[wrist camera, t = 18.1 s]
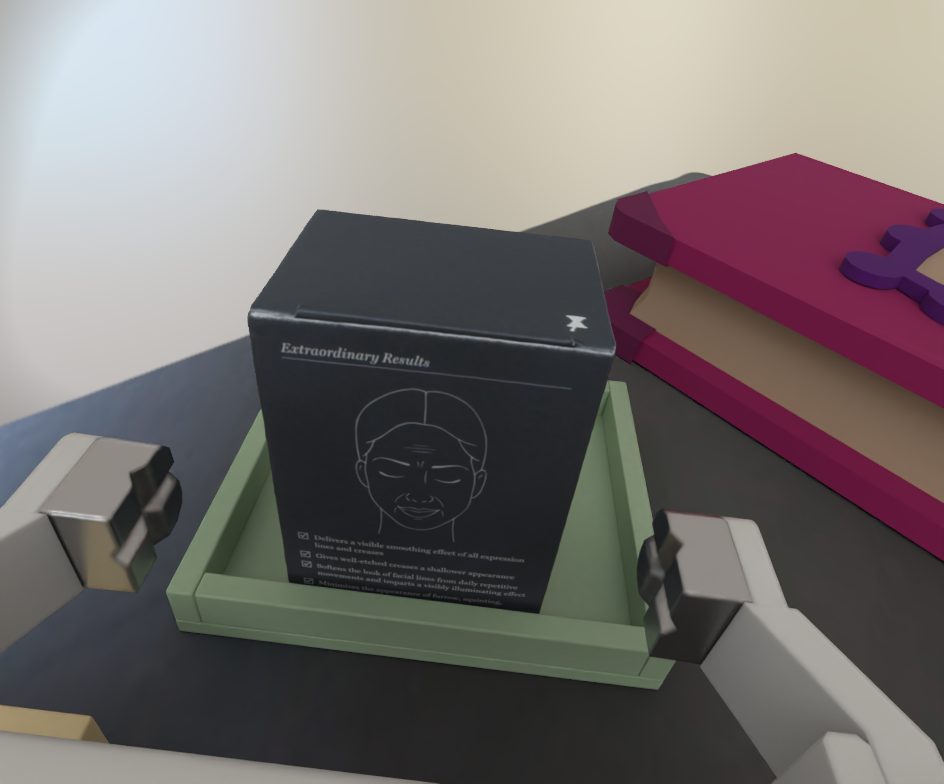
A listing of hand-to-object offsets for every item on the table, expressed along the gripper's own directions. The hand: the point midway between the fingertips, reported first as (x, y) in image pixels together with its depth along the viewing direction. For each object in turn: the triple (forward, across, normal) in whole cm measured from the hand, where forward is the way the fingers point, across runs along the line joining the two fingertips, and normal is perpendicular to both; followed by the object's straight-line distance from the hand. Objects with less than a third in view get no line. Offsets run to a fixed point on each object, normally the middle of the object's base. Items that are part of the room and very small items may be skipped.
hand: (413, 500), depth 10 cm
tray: (+9, 0, +10) cm, 13 cm away
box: (+6, 0, +10) cm, 12 cm away
